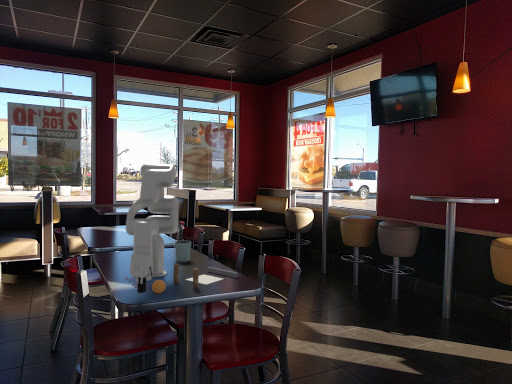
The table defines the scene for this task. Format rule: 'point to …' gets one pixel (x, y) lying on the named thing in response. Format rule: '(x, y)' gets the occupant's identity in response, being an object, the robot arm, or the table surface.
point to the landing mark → (206, 279)
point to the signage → (137, 283)
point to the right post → (195, 277)
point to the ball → (158, 286)
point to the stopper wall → (222, 272)
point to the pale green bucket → (183, 250)
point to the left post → (176, 274)
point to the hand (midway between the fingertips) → (141, 292)
